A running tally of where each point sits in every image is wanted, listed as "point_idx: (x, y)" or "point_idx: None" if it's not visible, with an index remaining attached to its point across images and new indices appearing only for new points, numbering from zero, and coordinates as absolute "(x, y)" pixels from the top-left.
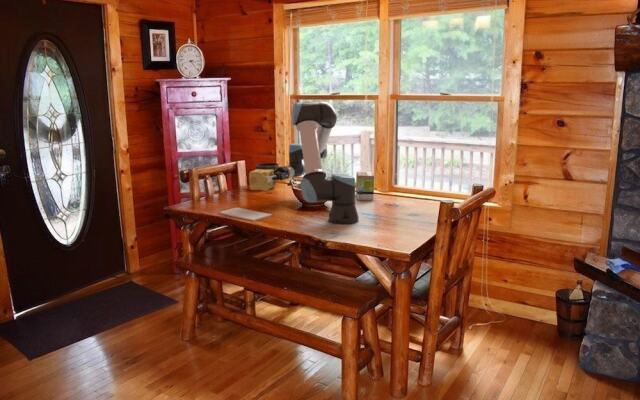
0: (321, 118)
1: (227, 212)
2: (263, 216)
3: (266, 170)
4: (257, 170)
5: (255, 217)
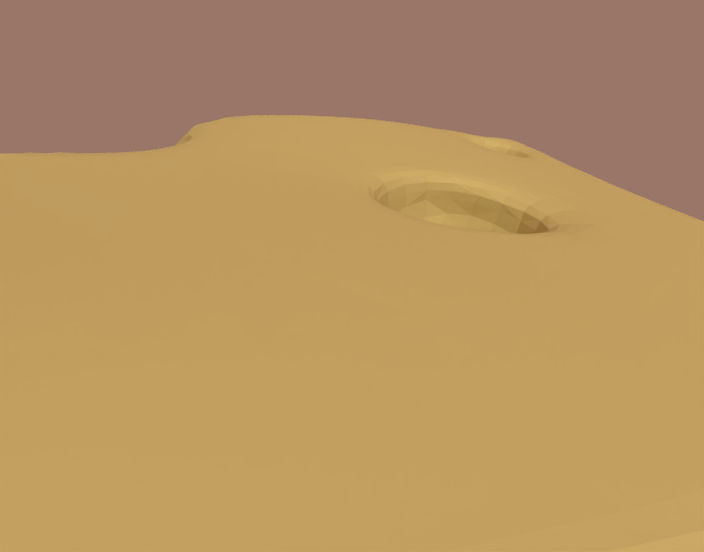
0: None
1: None
2: None
3: (266, 258)
4: (672, 247)
5: None
